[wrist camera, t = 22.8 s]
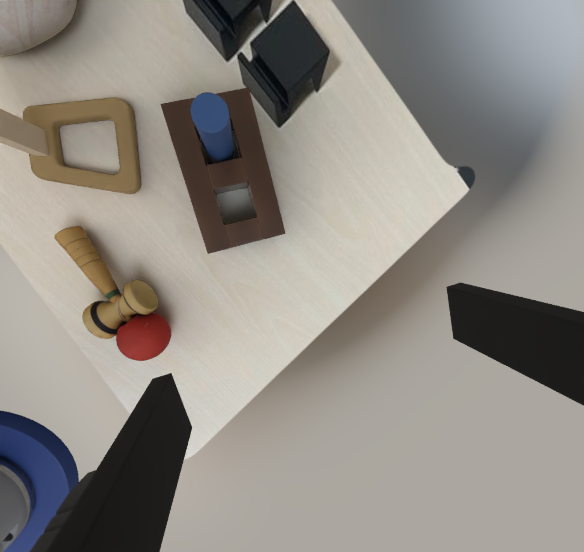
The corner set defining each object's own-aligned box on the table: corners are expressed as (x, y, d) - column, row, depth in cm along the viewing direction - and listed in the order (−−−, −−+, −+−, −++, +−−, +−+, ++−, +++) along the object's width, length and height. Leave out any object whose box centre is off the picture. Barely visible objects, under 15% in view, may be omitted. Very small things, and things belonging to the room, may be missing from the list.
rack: (211, 251, 36) (207, 253, 32) (170, 118, 33) (160, 104, 29) (281, 233, 38) (285, 233, 34) (248, 103, 34) (248, 87, 30)
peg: (212, 168, 35) (197, 136, 23) (205, 142, 34) (185, 95, 22) (237, 162, 35) (233, 129, 23) (230, 137, 34) (222, 88, 23)
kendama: (52, 254, 34) (136, 368, 36) (14, 246, 28) (118, 383, 30) (110, 223, 36) (188, 333, 38) (87, 210, 30) (181, 341, 32)
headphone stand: (142, 194, 34) (-34, 131, 12) (42, 193, 32) (-369, 117, 10) (133, 103, 32) (-92, -157, 11) (27, 96, 30) (-507, -235, 9)
